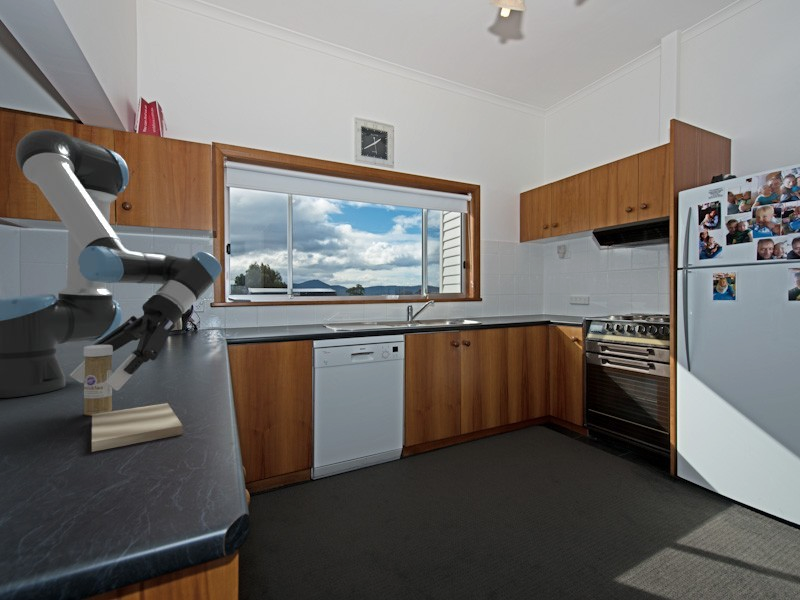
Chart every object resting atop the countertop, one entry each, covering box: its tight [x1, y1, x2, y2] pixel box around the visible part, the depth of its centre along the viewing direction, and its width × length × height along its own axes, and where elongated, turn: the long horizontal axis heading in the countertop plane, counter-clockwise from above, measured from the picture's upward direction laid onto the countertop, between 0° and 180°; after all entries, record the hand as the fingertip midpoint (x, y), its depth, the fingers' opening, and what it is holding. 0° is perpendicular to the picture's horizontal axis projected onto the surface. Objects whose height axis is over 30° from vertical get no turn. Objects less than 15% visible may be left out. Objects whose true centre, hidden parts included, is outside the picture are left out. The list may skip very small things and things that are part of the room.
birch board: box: [91, 402, 184, 453], centre depth 68 cm, size 17×12×2 cm
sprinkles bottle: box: [83, 344, 114, 417], centre depth 76 cm, size 5×5×14 cm
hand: (92, 382), depth 75 cm, fingers open, 13 cm apart
